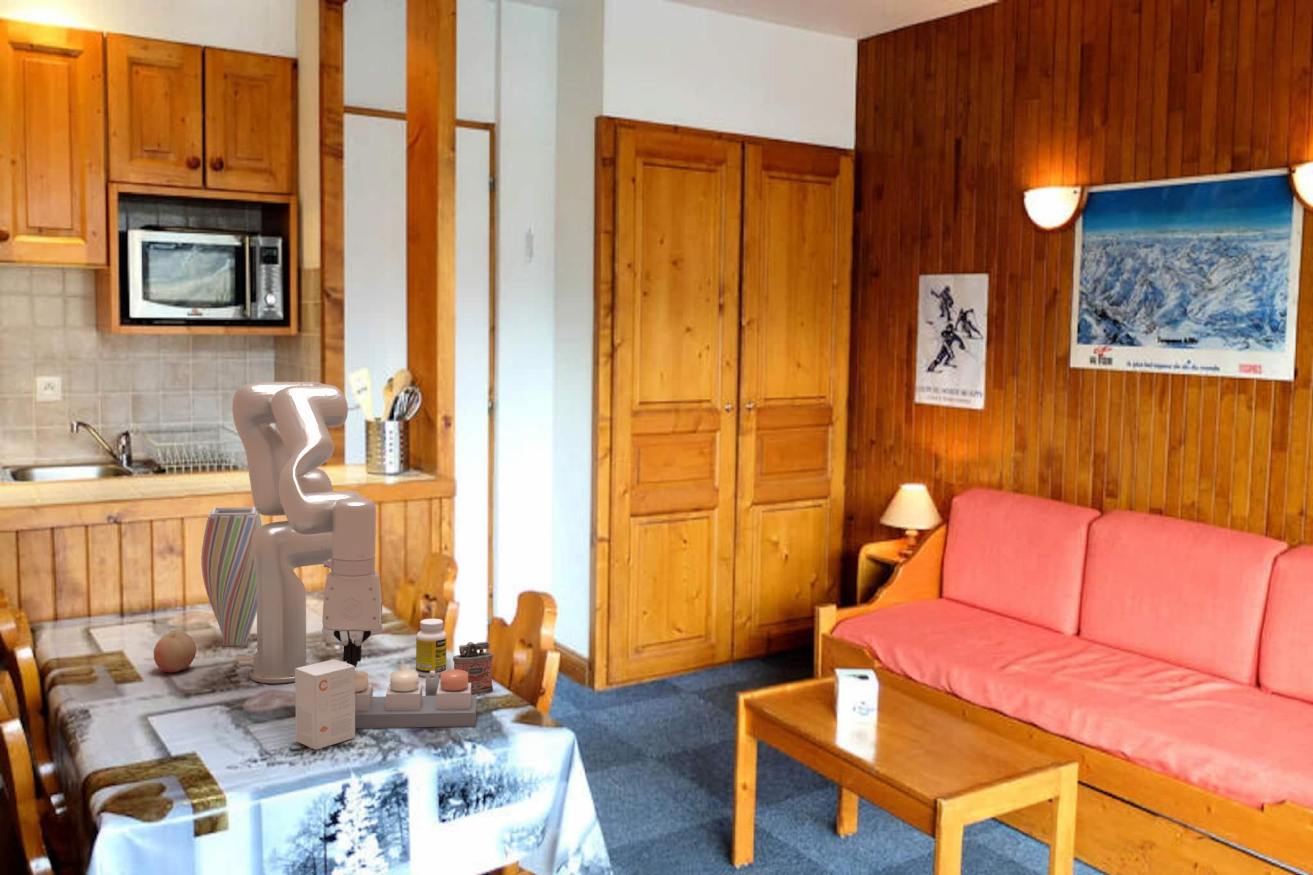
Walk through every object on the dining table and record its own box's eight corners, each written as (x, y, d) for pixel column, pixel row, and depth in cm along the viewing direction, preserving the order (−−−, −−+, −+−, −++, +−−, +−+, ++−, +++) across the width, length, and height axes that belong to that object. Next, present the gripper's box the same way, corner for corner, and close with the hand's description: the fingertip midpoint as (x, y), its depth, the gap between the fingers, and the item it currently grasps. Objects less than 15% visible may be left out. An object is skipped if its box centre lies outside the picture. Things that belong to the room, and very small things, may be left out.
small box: (334, 729, 203) (334, 657, 201) (356, 738, 198) (356, 665, 197) (294, 741, 196) (294, 667, 195) (315, 750, 192) (315, 675, 191)
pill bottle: (439, 678, 233) (439, 626, 232) (411, 676, 234) (411, 623, 233) (450, 670, 239) (451, 618, 238) (423, 667, 240) (423, 616, 239)
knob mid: (388, 707, 206) (389, 678, 206) (391, 698, 211) (391, 670, 211) (417, 707, 207) (417, 678, 206) (419, 698, 212) (419, 669, 211)
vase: (267, 633, 264) (266, 505, 262) (266, 648, 252) (265, 514, 249) (204, 636, 260) (202, 506, 257) (200, 652, 247) (199, 516, 244)
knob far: (439, 706, 207) (439, 677, 207) (441, 697, 212) (441, 669, 212) (467, 706, 208) (467, 677, 208) (468, 697, 213) (468, 669, 212)
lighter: (455, 697, 222) (456, 647, 221) (450, 692, 225) (451, 642, 224) (495, 692, 226) (495, 642, 225) (489, 687, 228) (490, 638, 228)
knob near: (337, 708, 205) (337, 679, 205) (341, 699, 210) (341, 670, 210) (366, 708, 206) (366, 678, 205) (369, 699, 211) (369, 670, 210)
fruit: (147, 670, 234) (146, 632, 233) (185, 662, 240) (185, 625, 239) (164, 679, 229) (163, 640, 228) (203, 671, 234) (202, 633, 234)
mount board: (327, 728, 203) (327, 698, 202) (335, 710, 213) (335, 681, 212) (475, 726, 206) (475, 696, 206) (476, 707, 216) (476, 679, 215)
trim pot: (424, 705, 217) (425, 673, 216) (425, 700, 219) (426, 669, 219) (438, 704, 217) (439, 673, 217) (439, 700, 220) (439, 669, 219)
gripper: (307, 570, 201) (306, 671, 203) (393, 571, 203) (392, 671, 205) (314, 561, 208) (313, 658, 210) (397, 562, 210) (396, 658, 212)
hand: (352, 664), depth 208 cm, fingers closed
